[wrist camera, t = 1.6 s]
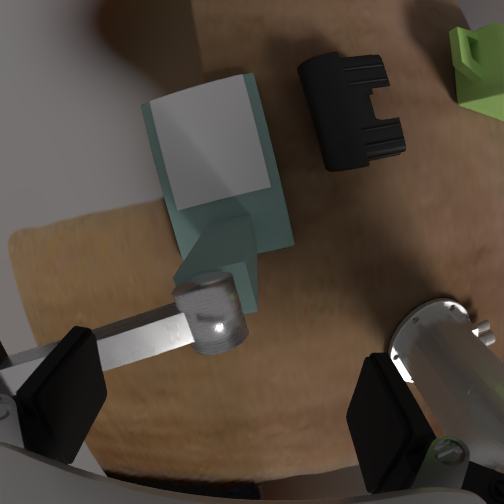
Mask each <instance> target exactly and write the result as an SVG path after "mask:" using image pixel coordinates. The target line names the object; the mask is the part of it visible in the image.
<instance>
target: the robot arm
mask: <svg viewBox="0 0 504 504" xmlns="http://www.w3.org/2000/svg"><path fill="white" fill-rule="evenodd" d="M489 328H490V323H489V321H488V320H484V321H482V322H480V323H478V324H476V325H475V324H473V323H472V322H470V319H469V315H468V313H467V311H466V309H465V308H464V307H463V306H462V305H461V304H459V303H458V302H457V301H455V300H452V299H449V298H438V299H434V300H430V301H427V302H425V303H424V304H422V305H420V306H418V307H417V308H415V309H414V310H413V311H411V312H410V313H409V314H408V315H407V316H406V317H405V318H404V319H403V321H402V322H401V323H400V324H399V325H398V327H397V329H396V330H395V332H394V334H393V336H392V338H391V341H390V344H389V349H388V353H371V354H370V356H369V357H366V358H365V360H364V363H363V366H362V369H361V372H360V376H359V379H358V382H357V385H356V388H355V391H354V394H353V396H352V399H351V402H350V405H349V408H348V411H347V415H346V419H347V424H348V427H349V430H350V434H351V437H352V440H353V444H354V447H355V451H356V454H357V458H358V461H359V465H360V468H361V472H362V475H363V478H364V482H365V486H366V489H367V491H368V492H369V493H370V492H372V494H371V495H363V496H354V497H344V498H334V499H320V500H298V501H297V500H296V501H264V500H241V499H227V498H216V497H206V496H198V495H190V494H184V493H177V492H171V491H165V490H160V489H155V488H150V487H145V486H140V485H136V484H132V483H128V482H123V481H120V480H116V479H112V478H108V477H105V476H101V475H98V474H94V473H91V472H88V471H85V470H82V469H79V468H75V467H73V466H70V465H68V464H71V463H73V461H74V459H75V457H76V455H77V453H78V451H79V449H80V447H81V445H82V443H83V441H84V440H85V438H86V436H87V434H88V432H89V430H90V428H91V426H92V424H93V422H94V420H95V419H96V417H97V415H98V413H99V411H100V409H101V407H102V405H103V404H104V402H105V400H106V397H107V389H106V384H105V380H104V375H103V371H102V366H101V361H100V356H99V351H98V345H97V339H96V335H95V334H94V333H92V331H91V329H89V328H85V327H80V326H74V327H73V328H72V329H71V330H70V331H69V332H68V334H67V335H66V336H65V337H64V338H63V339H62V340H61V341H60V342H59V343H58V344H57V346H56V347H55V348H54V349H53V350H52V351H51V352H50V353H49V354H48V356H47V357H46V358H45V359H44V360H43V361H42V362H41V363H40V365H39V366H38V367H37V368H36V369H35V370H34V371H33V373H32V374H31V375H30V376H29V377H28V378H27V380H26V381H25V382H24V383H23V384H22V386H21V387H20V388H19V389H18V390H17V391H16V395H17V396H16V397H15V398H14V399H12V398H11V397H10V396H8V395H4V394H0V504H504V363H503V362H502V361H501V360H500V359H499V358H498V357H497V356H496V355H495V354H494V353H493V352H492V351H491V350H490V349H489V348H488V347H487V346H488V345H490V344H493V343H494V341H495V336H494V333H493V332H492V331H491V330H490V331H488V332H486V333H483V334H481V335H480V336H478V333H480V332H483V331H486V330H488V329H489ZM405 381H407V382H414V384H415V385H416V387H417V389H418V390H419V392H420V394H421V395H422V397H423V399H424V400H425V402H426V404H427V405H428V407H429V409H430V411H431V412H432V414H433V416H434V417H435V419H436V421H437V423H438V424H439V426H440V428H441V430H442V432H443V433H444V435H445V436H441V437H438V438H436V436H435V434H434V432H433V430H432V429H431V427H430V425H429V423H428V421H427V419H426V418H425V416H424V414H423V412H422V410H421V409H420V407H419V405H418V403H417V401H416V400H415V398H414V396H413V394H412V393H411V391H410V389H409V388H408V386H407V384H406V382H405ZM490 468H494V469H495V470H496V471H495V470H492V469H490Z"/></svg>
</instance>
